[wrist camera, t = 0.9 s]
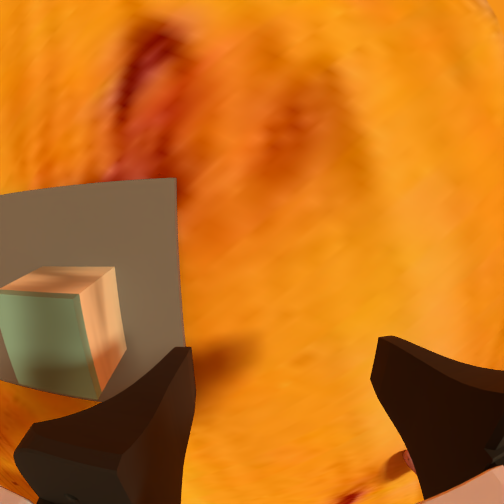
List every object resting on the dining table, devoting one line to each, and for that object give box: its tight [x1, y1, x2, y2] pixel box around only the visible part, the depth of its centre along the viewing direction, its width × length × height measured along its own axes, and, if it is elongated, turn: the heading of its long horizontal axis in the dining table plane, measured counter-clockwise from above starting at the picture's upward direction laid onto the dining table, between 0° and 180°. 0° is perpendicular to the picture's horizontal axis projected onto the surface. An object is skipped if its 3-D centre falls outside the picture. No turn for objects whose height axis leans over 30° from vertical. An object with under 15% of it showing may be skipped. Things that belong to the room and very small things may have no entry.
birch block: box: [0, 266, 127, 400], centre depth 13 cm, size 5×5×5 cm
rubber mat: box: [0, 178, 186, 402], centre depth 16 cm, size 22×14×1 cm, turn 90°
